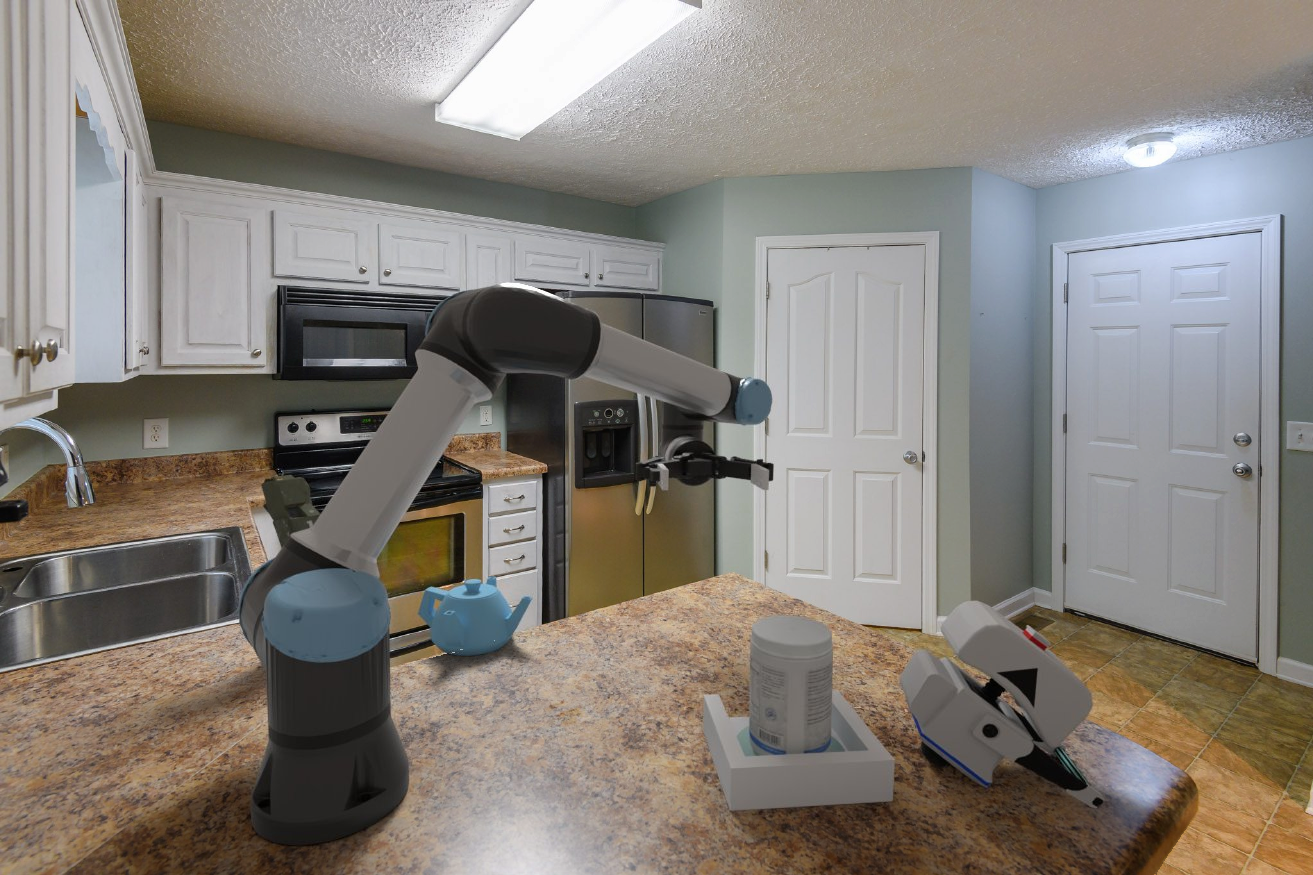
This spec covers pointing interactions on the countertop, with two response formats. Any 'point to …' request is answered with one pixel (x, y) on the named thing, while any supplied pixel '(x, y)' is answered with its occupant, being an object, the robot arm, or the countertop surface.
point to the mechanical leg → (289, 505)
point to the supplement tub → (790, 686)
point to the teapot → (471, 617)
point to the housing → (798, 763)
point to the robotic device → (998, 701)
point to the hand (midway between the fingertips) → (716, 480)
